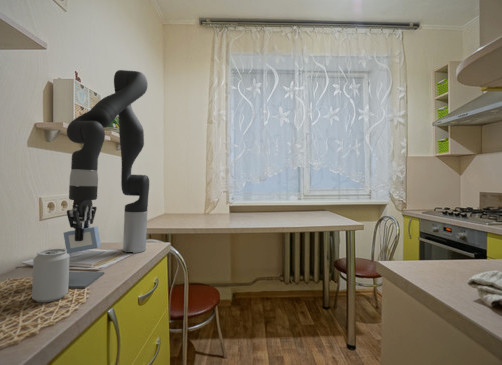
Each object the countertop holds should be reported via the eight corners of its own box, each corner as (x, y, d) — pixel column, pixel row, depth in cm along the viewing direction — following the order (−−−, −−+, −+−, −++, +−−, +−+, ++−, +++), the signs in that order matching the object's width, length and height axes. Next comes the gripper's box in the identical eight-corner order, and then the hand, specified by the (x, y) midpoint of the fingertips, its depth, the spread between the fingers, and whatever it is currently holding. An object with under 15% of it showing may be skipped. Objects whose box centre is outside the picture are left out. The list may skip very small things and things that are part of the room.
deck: (71, 251, 84) (67, 231, 84) (101, 246, 85) (97, 226, 85) (66, 253, 82) (63, 232, 82) (97, 248, 83) (93, 227, 83)
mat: (58, 273, 85) (58, 271, 86) (104, 273, 87) (104, 272, 87) (31, 288, 74) (31, 286, 74) (85, 288, 75) (85, 286, 75)
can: (66, 289, 74) (67, 246, 74) (70, 298, 68) (72, 251, 68) (31, 296, 69) (33, 249, 69) (32, 306, 63) (34, 256, 63)
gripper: (82, 184, 90) (80, 235, 90) (57, 184, 76) (54, 244, 76) (106, 185, 91) (103, 235, 91) (85, 185, 77) (82, 245, 77)
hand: (81, 239), depth 83 cm, fingers closed on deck, 2 cm apart
